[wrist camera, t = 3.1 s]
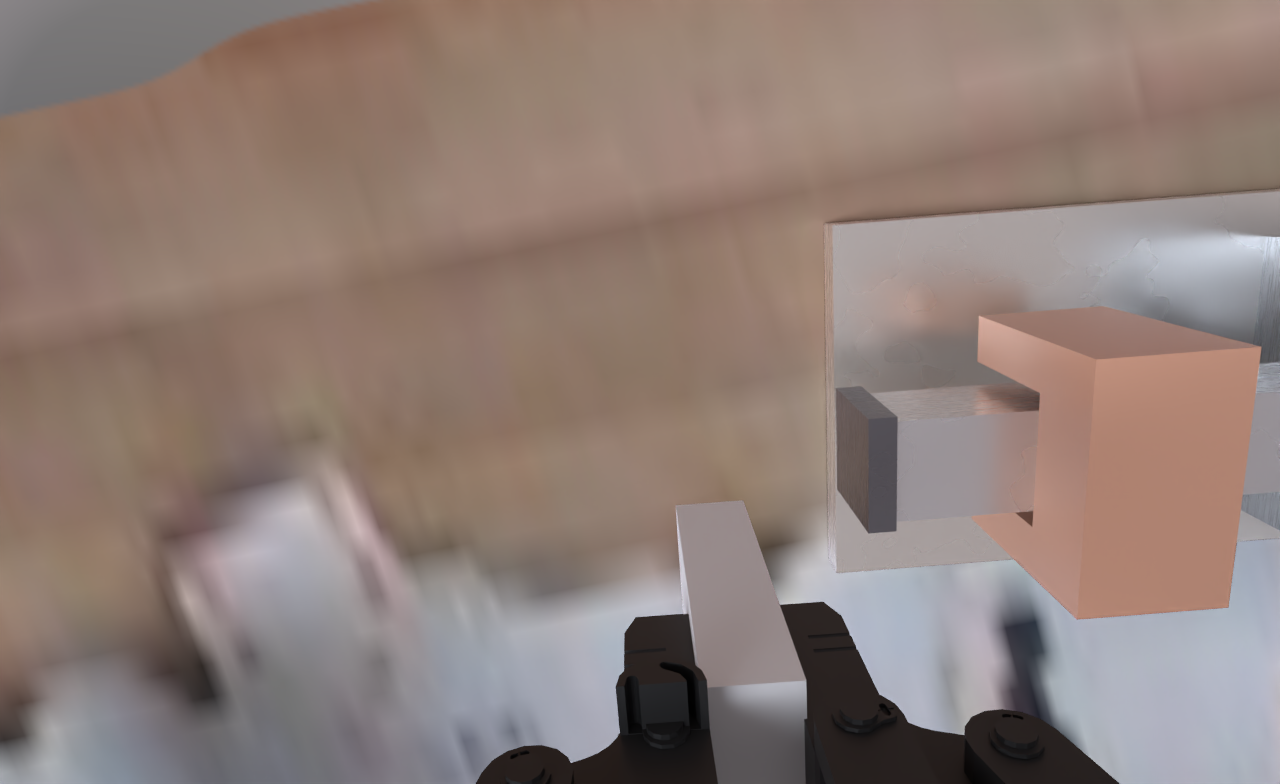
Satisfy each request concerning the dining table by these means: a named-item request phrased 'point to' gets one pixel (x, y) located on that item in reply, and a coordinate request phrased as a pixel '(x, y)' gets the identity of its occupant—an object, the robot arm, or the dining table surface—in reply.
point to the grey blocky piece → (1026, 282)
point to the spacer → (1127, 457)
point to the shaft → (978, 450)
